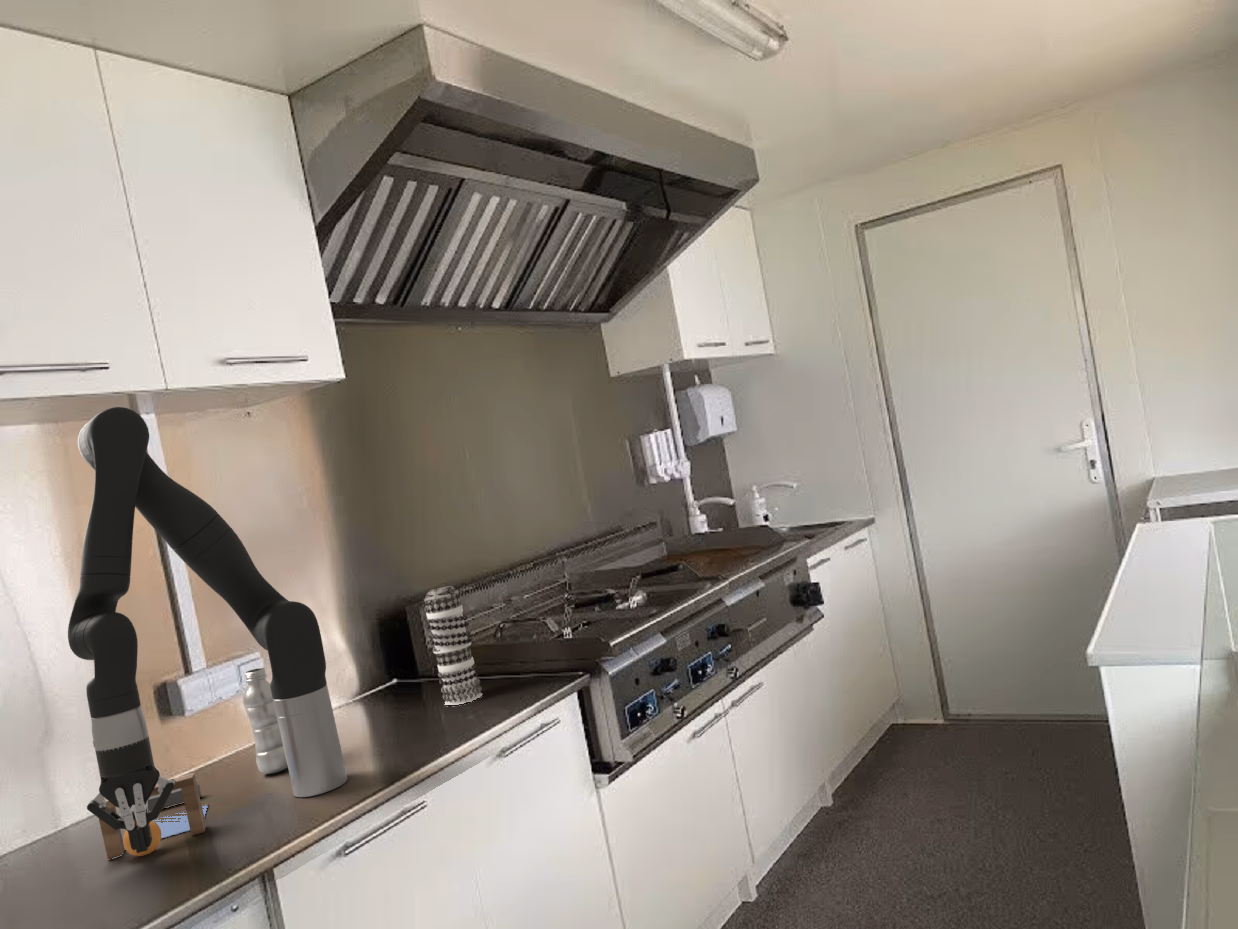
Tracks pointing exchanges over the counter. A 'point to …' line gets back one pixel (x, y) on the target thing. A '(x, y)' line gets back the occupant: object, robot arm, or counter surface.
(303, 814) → the counter surface
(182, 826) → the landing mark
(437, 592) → the decorative candle
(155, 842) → the ball
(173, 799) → the strip
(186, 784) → the bridge
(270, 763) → the plastic bottle
